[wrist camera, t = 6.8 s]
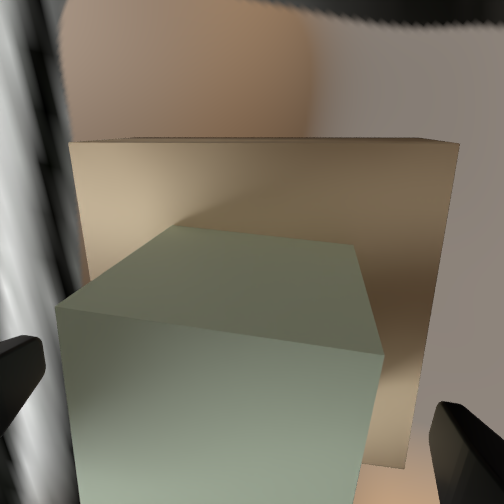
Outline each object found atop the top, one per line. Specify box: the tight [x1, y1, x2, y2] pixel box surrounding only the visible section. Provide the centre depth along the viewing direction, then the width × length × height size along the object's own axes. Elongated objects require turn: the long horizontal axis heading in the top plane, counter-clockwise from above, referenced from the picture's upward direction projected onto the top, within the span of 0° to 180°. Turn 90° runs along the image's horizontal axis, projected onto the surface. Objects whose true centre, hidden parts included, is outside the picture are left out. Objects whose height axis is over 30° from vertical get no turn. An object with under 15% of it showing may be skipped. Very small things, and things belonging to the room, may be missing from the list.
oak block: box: [69, 137, 460, 469], centre depth 13 cm, size 10×10×4 cm
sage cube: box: [55, 225, 385, 504], centre depth 9 cm, size 5×5×5 cm
